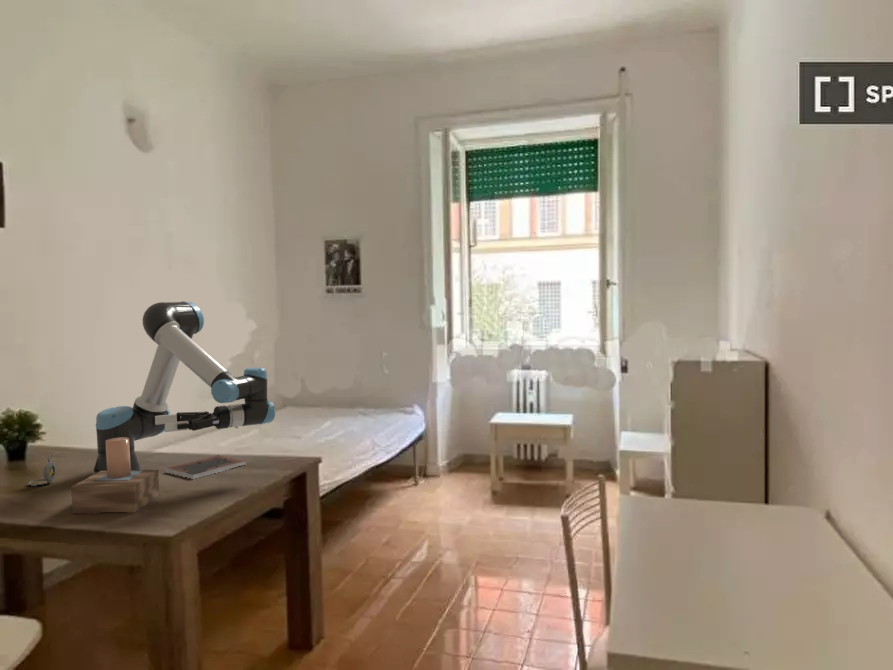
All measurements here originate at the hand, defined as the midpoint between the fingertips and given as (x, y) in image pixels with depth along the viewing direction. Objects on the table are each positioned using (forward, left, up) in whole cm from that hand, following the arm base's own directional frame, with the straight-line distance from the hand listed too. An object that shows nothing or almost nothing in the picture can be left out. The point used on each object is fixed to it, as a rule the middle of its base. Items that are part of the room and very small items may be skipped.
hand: (160, 423), depth 206 cm
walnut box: (+9, -10, -22) cm, 26 cm away
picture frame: (-29, +4, -23) cm, 37 cm away
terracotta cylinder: (+8, -10, -14) cm, 19 cm away
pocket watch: (-14, -46, -23) cm, 53 cm away
